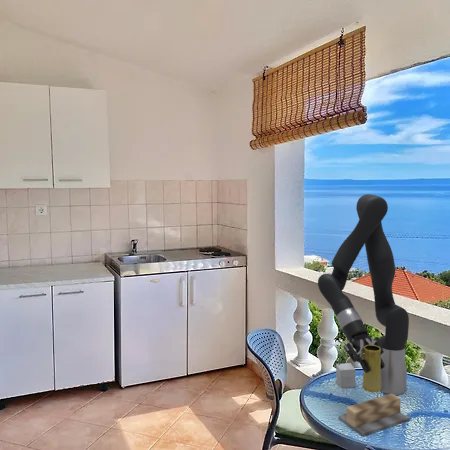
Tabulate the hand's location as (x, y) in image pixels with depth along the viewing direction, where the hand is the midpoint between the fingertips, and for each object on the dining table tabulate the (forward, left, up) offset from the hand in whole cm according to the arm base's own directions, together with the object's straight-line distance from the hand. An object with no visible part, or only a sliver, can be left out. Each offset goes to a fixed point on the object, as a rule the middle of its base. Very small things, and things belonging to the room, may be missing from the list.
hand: (375, 369), depth 154 cm
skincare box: (-10, -27, -19) cm, 34 cm away
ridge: (-1, -2, -18) cm, 19 cm away
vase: (0, -2, -7) cm, 8 cm away
